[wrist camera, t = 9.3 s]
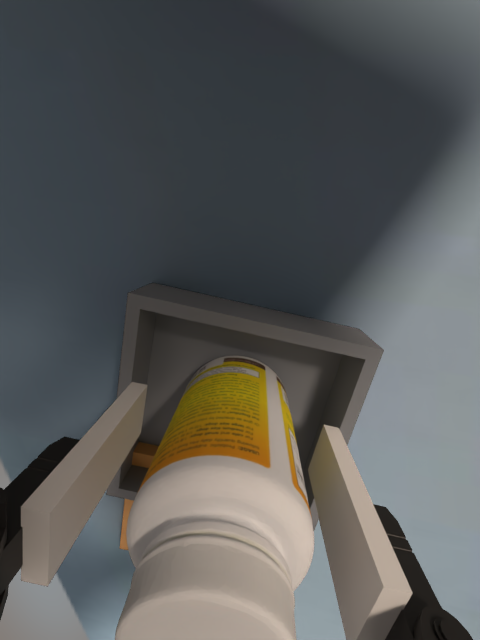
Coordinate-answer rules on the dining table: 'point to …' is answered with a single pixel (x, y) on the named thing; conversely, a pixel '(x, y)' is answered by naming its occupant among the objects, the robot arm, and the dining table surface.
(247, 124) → the dining table surface
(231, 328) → the parts tray
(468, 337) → the dining table surface
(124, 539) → the fuse puller tool
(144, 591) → the supplement bottle
